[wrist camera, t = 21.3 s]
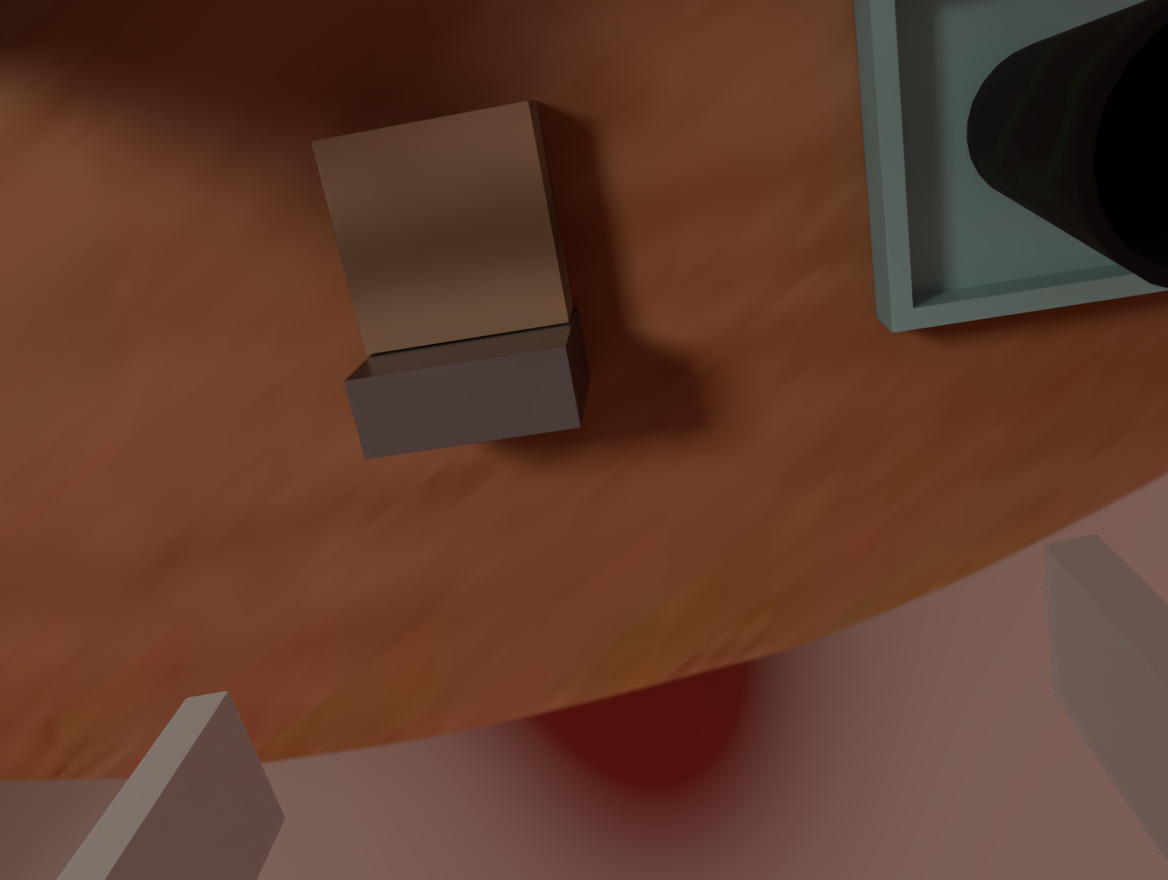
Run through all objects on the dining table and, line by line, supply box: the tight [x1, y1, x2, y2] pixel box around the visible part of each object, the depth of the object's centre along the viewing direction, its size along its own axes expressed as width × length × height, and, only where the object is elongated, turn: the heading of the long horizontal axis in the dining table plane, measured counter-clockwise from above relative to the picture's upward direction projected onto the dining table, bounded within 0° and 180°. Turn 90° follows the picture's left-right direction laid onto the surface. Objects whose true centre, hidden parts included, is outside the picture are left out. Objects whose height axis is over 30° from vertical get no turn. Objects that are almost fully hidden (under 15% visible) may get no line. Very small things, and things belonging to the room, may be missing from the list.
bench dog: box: [344, 309, 590, 459], centre depth 36 cm, size 3×8×6 cm, turn 100°
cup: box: [967, 0, 1168, 288], centre depth 28 cm, size 8×8×12 cm
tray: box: [854, 0, 1168, 333], centre depth 33 cm, size 13×13×2 cm
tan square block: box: [311, 100, 573, 355], centre depth 36 cm, size 8×8×3 cm
